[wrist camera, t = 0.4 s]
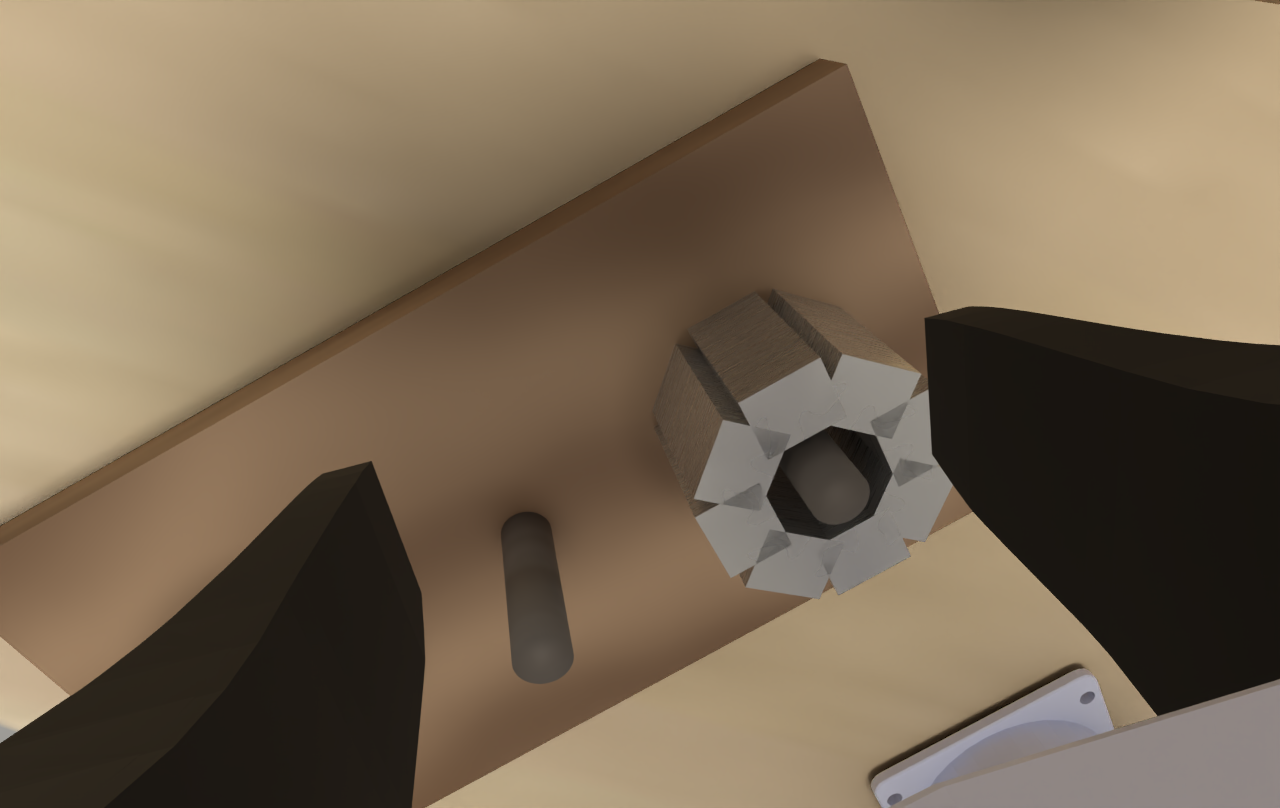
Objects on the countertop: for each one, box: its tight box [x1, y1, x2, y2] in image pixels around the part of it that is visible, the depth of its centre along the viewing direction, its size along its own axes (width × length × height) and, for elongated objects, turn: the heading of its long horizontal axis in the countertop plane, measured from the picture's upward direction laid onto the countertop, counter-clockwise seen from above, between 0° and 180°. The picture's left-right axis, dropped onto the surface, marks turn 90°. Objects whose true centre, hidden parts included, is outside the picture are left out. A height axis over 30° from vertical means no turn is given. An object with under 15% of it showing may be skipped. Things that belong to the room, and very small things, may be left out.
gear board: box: [0, 59, 973, 808], centre depth 20 cm, size 12×22×6 cm, turn 117°
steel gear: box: [652, 289, 953, 599], centre depth 19 cm, size 5×5×4 cm
